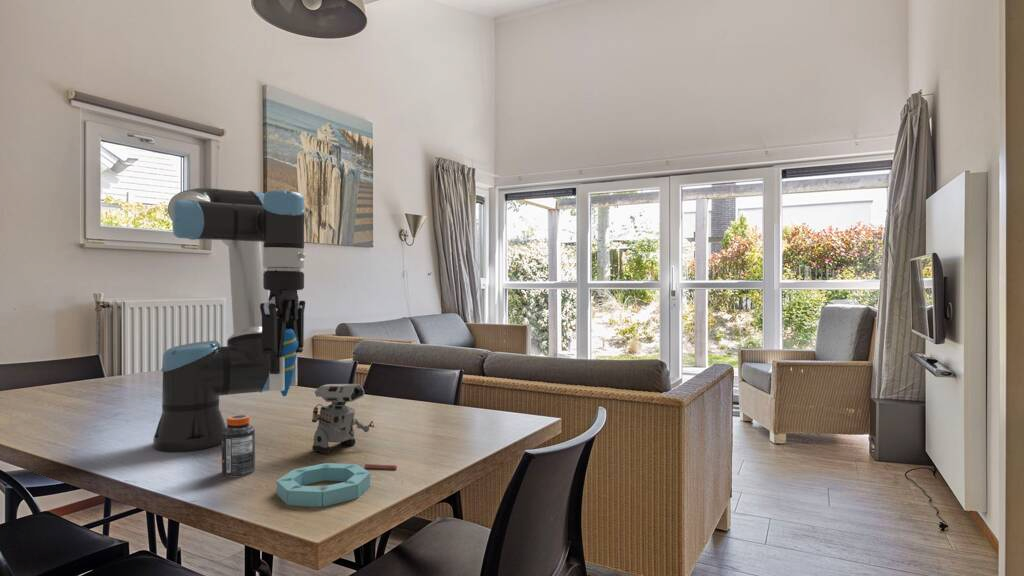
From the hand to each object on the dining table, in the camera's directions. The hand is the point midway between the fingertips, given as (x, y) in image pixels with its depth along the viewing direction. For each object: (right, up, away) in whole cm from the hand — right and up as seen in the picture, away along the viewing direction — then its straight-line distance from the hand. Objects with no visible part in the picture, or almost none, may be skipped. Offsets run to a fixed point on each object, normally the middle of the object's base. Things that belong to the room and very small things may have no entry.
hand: (283, 387), depth 114 cm
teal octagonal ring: (+11, -17, -10) cm, 23 cm away
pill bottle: (-9, -17, 0) cm, 19 cm away
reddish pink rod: (+19, -17, +3) cm, 25 cm away
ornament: (0, -2, 0) cm, 2 cm away
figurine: (+7, -17, +16) cm, 24 cm away
